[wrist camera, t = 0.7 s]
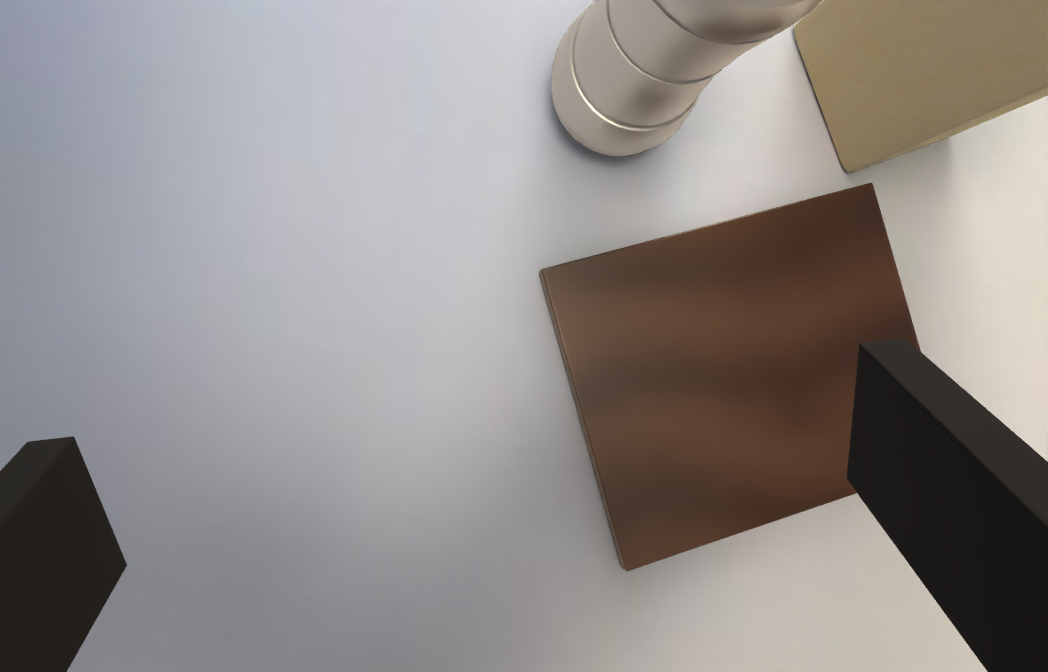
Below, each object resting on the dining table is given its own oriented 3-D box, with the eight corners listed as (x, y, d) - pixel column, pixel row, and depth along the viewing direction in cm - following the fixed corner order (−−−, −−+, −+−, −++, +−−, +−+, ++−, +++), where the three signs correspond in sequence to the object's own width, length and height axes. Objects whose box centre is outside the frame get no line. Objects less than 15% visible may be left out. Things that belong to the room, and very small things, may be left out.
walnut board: (538, 271, 36) (541, 268, 35) (863, 186, 39) (872, 182, 38) (621, 568, 36) (626, 572, 35) (941, 459, 39) (952, 461, 38)
